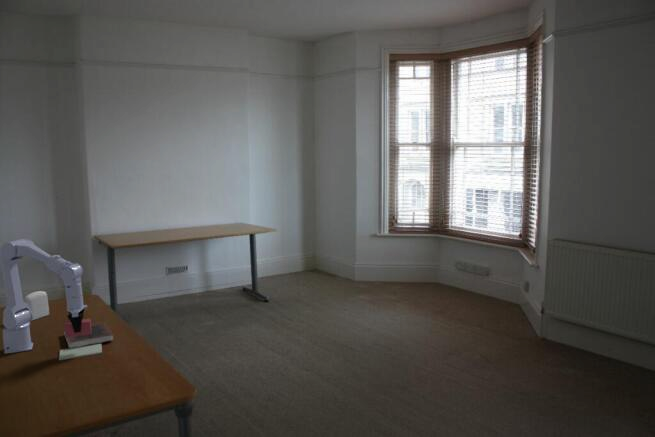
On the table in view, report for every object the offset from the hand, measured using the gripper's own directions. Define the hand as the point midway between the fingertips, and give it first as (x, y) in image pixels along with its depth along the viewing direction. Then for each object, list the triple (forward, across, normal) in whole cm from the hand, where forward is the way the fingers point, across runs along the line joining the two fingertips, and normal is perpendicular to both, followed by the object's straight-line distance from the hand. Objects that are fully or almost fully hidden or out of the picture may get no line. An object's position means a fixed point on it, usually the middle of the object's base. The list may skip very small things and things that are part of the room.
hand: (77, 330), depth 219 cm
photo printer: (+9, +58, +20) cm, 62 cm away
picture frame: (+9, +16, -3) cm, 18 cm away
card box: (+2, 0, 0) cm, 2 cm away
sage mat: (+9, 0, 0) cm, 9 cm away
